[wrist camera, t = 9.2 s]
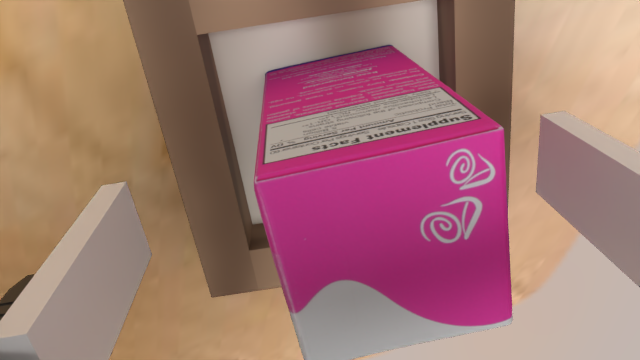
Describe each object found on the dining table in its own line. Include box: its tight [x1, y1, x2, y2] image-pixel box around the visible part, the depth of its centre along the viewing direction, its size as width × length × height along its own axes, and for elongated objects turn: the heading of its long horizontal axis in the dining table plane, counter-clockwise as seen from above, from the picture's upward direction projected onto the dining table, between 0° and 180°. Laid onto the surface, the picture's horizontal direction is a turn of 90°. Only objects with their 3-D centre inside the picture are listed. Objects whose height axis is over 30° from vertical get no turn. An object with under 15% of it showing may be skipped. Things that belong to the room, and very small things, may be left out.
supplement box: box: [254, 45, 513, 360], centre depth 16 cm, size 6×6×12 cm
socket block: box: [123, 0, 515, 297], centre depth 21 cm, size 14×14×3 cm
